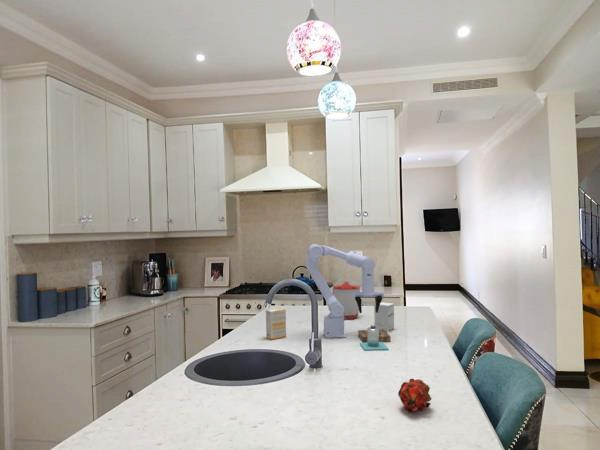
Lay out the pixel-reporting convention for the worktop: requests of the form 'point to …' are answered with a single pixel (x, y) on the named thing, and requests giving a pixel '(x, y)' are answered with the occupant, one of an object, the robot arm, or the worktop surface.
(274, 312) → the supplement box
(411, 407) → the dragon fruit
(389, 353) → the worktop surface
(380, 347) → the teal mat
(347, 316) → the citrus juicer
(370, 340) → the metal plug
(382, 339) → the bore block
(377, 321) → the white boxy piece
